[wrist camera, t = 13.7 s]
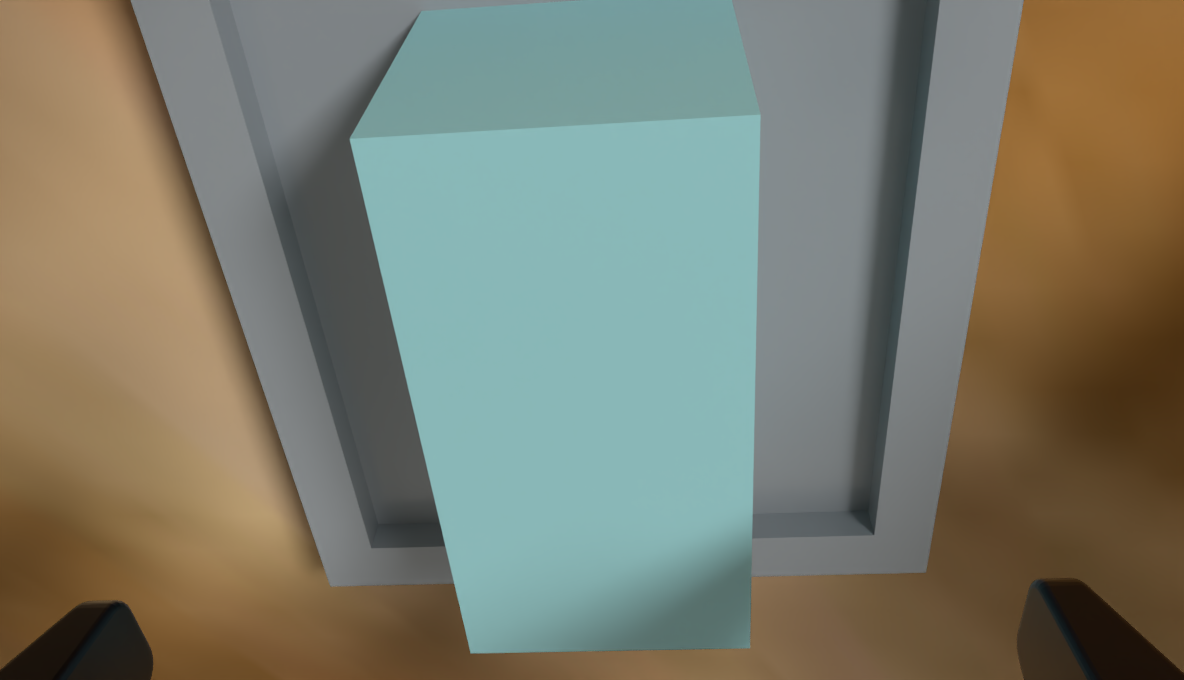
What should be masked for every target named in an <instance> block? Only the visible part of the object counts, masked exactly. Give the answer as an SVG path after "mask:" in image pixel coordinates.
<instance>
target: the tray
mask: <svg viewBox="0 0 1184 680" xmlns="http://www.w3.org/2000/svg"><path fill="white" fill-rule="evenodd" d="M562 1H577V0H131V3H132V6H133V9H134V12H135V15H136V18H137V21H138V24H139V27H140V30H141V33H142V36H143V39H144V41H145V44H146V47H147V50H148V53H149V56H150V59H151V62H152V65H153V68H154V71H155V74H156V77H157V80H158V83H159V85H160V88H161V91H162V94H163V97H164V100H165V103H166V106H167V109H168V112H169V115H170V118H171V121H172V124H173V127H174V129H175V132H176V135H177V138H178V141H179V144H180V147H181V150H182V153H183V156H184V159H185V162H186V165H187V168H188V171H189V173H190V176H191V179H192V182H193V185H194V188H195V191H196V194H197V197H198V200H199V203H200V206H201V209H202V212H203V215H204V217H205V220H206V223H207V226H208V229H209V232H210V235H211V238H212V241H213V244H214V247H215V250H216V253H217V256H218V259H219V261H220V264H221V267H222V270H223V273H224V276H225V279H226V282H227V285H228V288H229V291H230V294H231V297H232V300H233V303H234V306H235V308H236V311H237V314H238V317H239V320H240V323H241V326H242V329H243V332H244V335H245V338H246V341H247V344H248V347H249V350H250V352H251V355H252V358H253V361H254V364H255V367H256V370H257V373H258V376H259V379H260V382H261V385H262V388H263V391H264V394H265V396H266V399H267V402H268V405H269V408H270V411H271V414H272V417H273V420H274V423H275V426H276V429H277V432H278V435H279V438H280V440H281V443H282V446H283V449H284V452H285V455H286V458H287V461H288V464H289V467H290V470H291V473H292V476H293V479H294V482H295V484H296V487H297V490H298V493H299V496H300V499H301V502H302V505H303V508H304V511H305V514H306V517H307V520H308V523H309V526H310V528H311V531H312V534H313V537H314V540H315V543H316V546H317V549H318V552H319V555H320V558H321V561H322V564H323V567H324V570H325V572H326V575H327V578H328V581H329V584H330V587H331V586H374V585H417V584H454V580H453V576H452V572H451V568H450V563H449V559H448V555H447V551H446V546H445V542H444V538H443V534H442V529H441V525H440V521H439V517H438V512H437V508H436V504H435V500H434V495H433V491H432V487H431V483H430V478H429V474H428V470H427V466H426V461H425V457H424V453H423V449H422V444H421V440H420V436H419V432H418V427H417V423H416V419H415V415H414V410H413V406H412V402H411V398H410V394H409V389H408V385H407V381H406V377H405V372H404V368H403V364H402V360H401V355H400V351H399V347H398V343H397V338H396V334H395V330H394V326H393V321H392V317H391V313H390V309H389V304H388V300H387V296H386V292H385V287H384V283H383V279H382V275H381V270H380V266H379V262H378V258H377V253H376V249H375V245H374V241H373V236H372V232H371V228H370V224H369V219H368V215H367V211H366V207H365V202H364V198H363V194H362V190H361V185H360V181H359V177H358V173H357V168H356V164H355V160H354V156H353V151H352V147H351V143H350V137H351V135H352V134H353V132H354V130H355V128H356V126H357V125H358V123H359V121H360V119H361V118H362V116H363V114H364V112H365V110H366V109H367V107H368V105H369V103H370V102H371V100H372V98H373V96H374V94H375V93H376V91H377V89H378V87H379V86H380V84H381V82H382V80H383V78H384V77H385V75H386V73H387V71H388V70H389V68H390V66H391V64H392V62H393V61H394V59H395V57H396V55H397V54H398V52H399V50H400V48H401V46H402V45H403V43H404V41H405V39H406V38H407V36H408V34H409V32H410V30H411V29H412V27H413V25H414V23H415V22H416V20H417V18H418V16H419V14H420V13H421V11H431V10H446V9H460V8H475V7H489V6H504V5H519V4H533V3H548V2H562ZM1023 1H1024V0H732V3H733V7H734V11H735V15H736V19H737V23H738V27H739V31H740V35H741V39H742V43H743V47H744V51H745V54H746V58H747V62H748V66H749V70H750V74H751V78H752V82H753V86H754V90H755V94H756V98H757V102H758V106H759V110H760V114H761V120H760V170H759V220H758V270H757V320H756V370H755V420H754V471H753V521H752V571H751V577H761V576H804V575H847V574H891V573H926V570H927V564H928V558H929V552H930V546H931V540H932V535H933V529H934V523H935V517H936V511H937V505H938V499H939V494H940V488H941V482H942V476H943V470H944V464H945V458H946V453H947V447H948V441H949V435H950V429H951V423H952V417H953V412H954V406H955V400H956V394H957V388H958V382H959V376H960V371H961V365H962V359H963V353H964V347H965V341H966V335H967V330H968V324H969V318H970V312H971V306H972V300H973V294H974V289H975V283H976V277H977V271H978V265H979V259H980V253H981V248H982V242H983V236H984V230H985V224H986V218H987V212H988V207H989V201H990V195H991V189H992V183H993V177H994V171H995V166H996V160H997V154H998V148H999V142H1000V136H1001V130H1002V125H1003V119H1004V113H1005V107H1006V101H1007V95H1008V89H1009V84H1010V78H1011V72H1012V66H1013V60H1014V54H1015V48H1016V42H1017V37H1018V31H1019V25H1020V19H1021V13H1022V7H1023Z"/></svg>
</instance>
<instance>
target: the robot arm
mask: <svg viewBox="0 0 1184 680" xmlns="http://www.w3.org/2000/svg"><path fill="white" fill-rule="evenodd" d="M1017 649H1018V656H1019V661H1020V666H1021V670H1022V674H1023V678H1024V680H1184V673H1183V672H1182V671H1181V670H1179V669H1178V668H1177V667H1176V666H1175V665H1174V664H1173V663H1172V662H1171V661H1170V660H1169V659H1167V658H1166V657H1165V656H1164V655H1163V654H1162V653H1161V652H1160V651H1159V650H1158V649H1156V648H1155V647H1154V646H1153V645H1152V644H1151V643H1150V642H1149V641H1148V640H1147V639H1145V638H1144V637H1143V636H1142V635H1141V634H1140V633H1139V632H1138V631H1137V630H1136V629H1134V628H1133V627H1132V626H1131V625H1130V624H1129V623H1128V622H1127V621H1126V620H1125V619H1124V618H1122V617H1121V616H1120V615H1119V614H1118V613H1117V612H1116V611H1115V610H1114V609H1113V608H1111V607H1110V606H1109V605H1108V604H1107V603H1106V602H1105V601H1104V600H1103V599H1102V598H1100V597H1099V596H1098V595H1097V594H1096V593H1095V592H1094V591H1093V590H1092V589H1091V588H1089V587H1088V586H1087V585H1086V584H1085V583H1083V582H1082V581H1080V580H1078V579H1074V578H1046V579H1037V580H1035V581H1034V582H1033V583H1032V584H1031V586H1030V588H1029V591H1028V595H1027V599H1026V603H1025V607H1024V610H1023V614H1022V618H1021V622H1020V626H1019V630H1018V635H1017ZM152 671H153V655H152V651H151V648H150V646H149V644H148V642H147V640H146V638H145V636H144V634H143V632H142V630H141V628H140V627H139V625H138V623H137V621H136V619H135V617H134V615H133V613H132V611H131V609H130V608H129V606H128V605H127V604H125V603H124V602H122V601H118V600H108V601H87V602H84V603H81V604H79V605H78V606H76V607H75V608H73V609H72V610H71V611H70V612H68V613H67V614H66V615H65V616H64V617H63V618H61V619H60V620H59V621H58V622H57V623H55V624H54V625H53V626H52V627H51V628H49V629H48V630H47V631H46V632H45V633H43V634H42V635H41V636H40V637H39V638H38V639H36V640H35V641H34V642H33V643H32V644H30V645H29V646H28V647H27V648H26V649H24V650H23V651H22V652H21V653H20V654H18V655H17V656H16V657H15V658H14V659H13V660H11V661H10V662H9V663H8V664H7V665H5V666H4V667H3V668H2V669H1V670H0V680H151V676H152Z"/></svg>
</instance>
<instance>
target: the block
mask: <svg viewBox="0 0 1184 680" xmlns="http://www.w3.org/2000/svg"><path fill="white" fill-rule="evenodd" d="M760 120H761V114H760V110H759V106H758V102H757V98H756V94H755V90H754V86H753V82H752V78H751V74H750V70H749V66H748V62H747V58H746V54H745V51H744V47H743V43H742V39H741V35H740V31H739V27H738V23H737V19H736V15H735V11H734V7H733V3H732V0H577V1H562V2H548V3H533V4H519V5H504V6H489V7H475V8H460V9H446V10H431V11H421V13H420V14H419V16H418V18H417V20H416V22H415V23H414V25H413V27H412V29H411V30H410V32H409V34H408V36H407V38H406V39H405V41H404V43H403V45H402V46H401V48H400V50H399V52H398V54H397V55H396V57H395V59H394V61H393V62H392V64H391V66H390V68H389V70H388V71H387V73H386V75H385V77H384V78H383V80H382V82H381V84H380V86H379V87H378V89H377V91H376V93H375V94H374V96H373V98H372V100H371V102H370V103H369V105H368V107H367V109H366V110H365V112H364V114H363V116H362V118H361V119H360V121H359V123H358V125H357V126H356V128H355V130H354V132H353V134H352V135H351V137H350V143H351V147H352V151H353V156H354V160H355V164H356V168H357V173H358V177H359V181H360V185H361V190H362V194H363V198H364V202H365V207H366V211H367V215H368V219H369V224H370V228H371V232H372V236H373V241H374V245H375V249H376V253H377V258H378V262H379V266H380V270H381V275H382V279H383V283H384V287H385V292H386V296H387V300H388V304H389V309H390V313H391V317H392V321H393V326H394V330H395V334H396V338H397V343H398V347H399V351H400V355H401V360H402V364H403V368H404V372H405V377H406V381H407V385H408V389H409V394H410V398H411V402H412V406H413V410H414V415H415V419H416V423H417V427H418V432H419V436H420V440H421V444H422V449H423V453H424V457H425V461H426V466H427V470H428V474H429V478H430V483H431V487H432V491H433V495H434V500H435V504H436V508H437V512H438V517H439V521H440V525H441V529H442V534H443V538H444V542H445V546H446V551H447V555H448V559H449V563H450V568H451V572H452V576H453V580H454V585H455V589H456V593H457V597H458V602H459V606H460V610H461V614H462V619H463V623H464V627H465V631H466V636H467V640H468V644H469V648H470V653H522V652H575V651H629V650H682V649H735V648H750V621H751V571H752V521H753V471H754V420H755V370H756V320H757V270H758V220H759V170H760Z"/></svg>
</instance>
